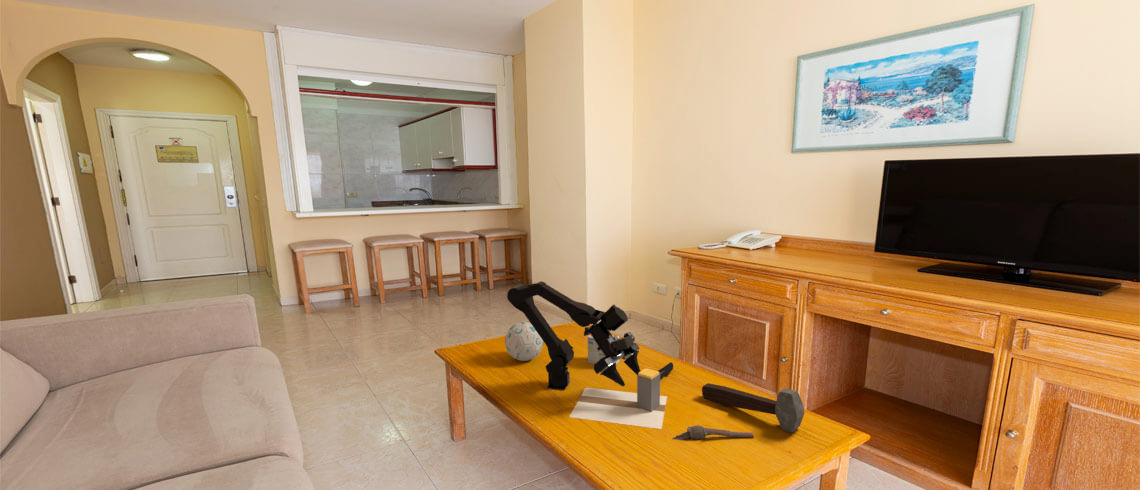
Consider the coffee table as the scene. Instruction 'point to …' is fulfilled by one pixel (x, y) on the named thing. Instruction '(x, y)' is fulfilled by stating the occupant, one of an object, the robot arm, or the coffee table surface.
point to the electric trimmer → (666, 370)
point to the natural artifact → (709, 433)
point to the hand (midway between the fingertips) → (632, 380)
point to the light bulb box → (595, 351)
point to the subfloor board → (617, 408)
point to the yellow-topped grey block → (648, 389)
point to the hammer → (760, 403)
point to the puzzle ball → (523, 341)
